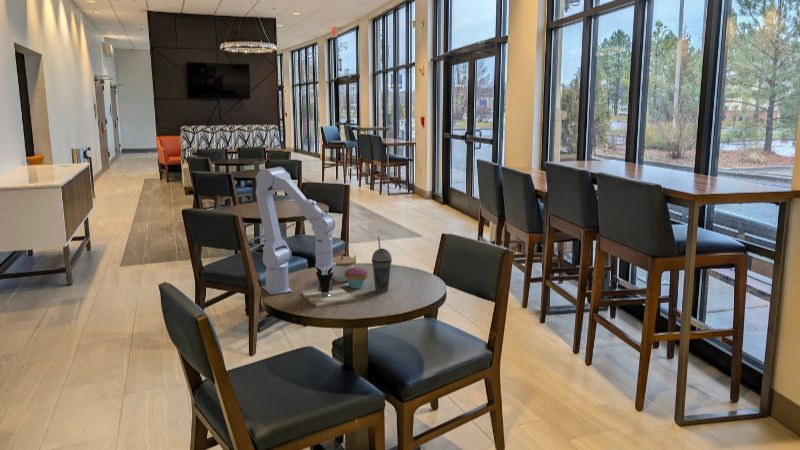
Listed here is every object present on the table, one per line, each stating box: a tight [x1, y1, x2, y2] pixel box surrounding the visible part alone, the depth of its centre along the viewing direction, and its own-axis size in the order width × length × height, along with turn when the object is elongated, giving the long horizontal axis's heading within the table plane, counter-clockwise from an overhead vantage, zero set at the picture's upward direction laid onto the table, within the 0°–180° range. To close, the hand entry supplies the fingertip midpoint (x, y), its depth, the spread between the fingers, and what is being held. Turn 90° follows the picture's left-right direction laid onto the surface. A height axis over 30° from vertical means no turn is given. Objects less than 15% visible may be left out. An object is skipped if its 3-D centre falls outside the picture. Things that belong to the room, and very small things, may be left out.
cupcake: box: [345, 253, 368, 289], centre depth 216 cm, size 9×8×12 cm
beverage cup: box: [371, 236, 393, 294], centre depth 210 cm, size 7×7×20 cm
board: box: [300, 285, 357, 308], centre depth 204 cm, size 16×14×1 cm
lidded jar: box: [330, 254, 354, 282], centre depth 225 cm, size 11×11×9 cm
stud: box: [319, 291, 331, 297], centre depth 204 cm, size 4×4×2 cm
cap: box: [316, 278, 333, 292], centre depth 203 cm, size 5×6×4 cm
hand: (324, 289), depth 203 cm, fingers closed on cap, 5 cm apart
